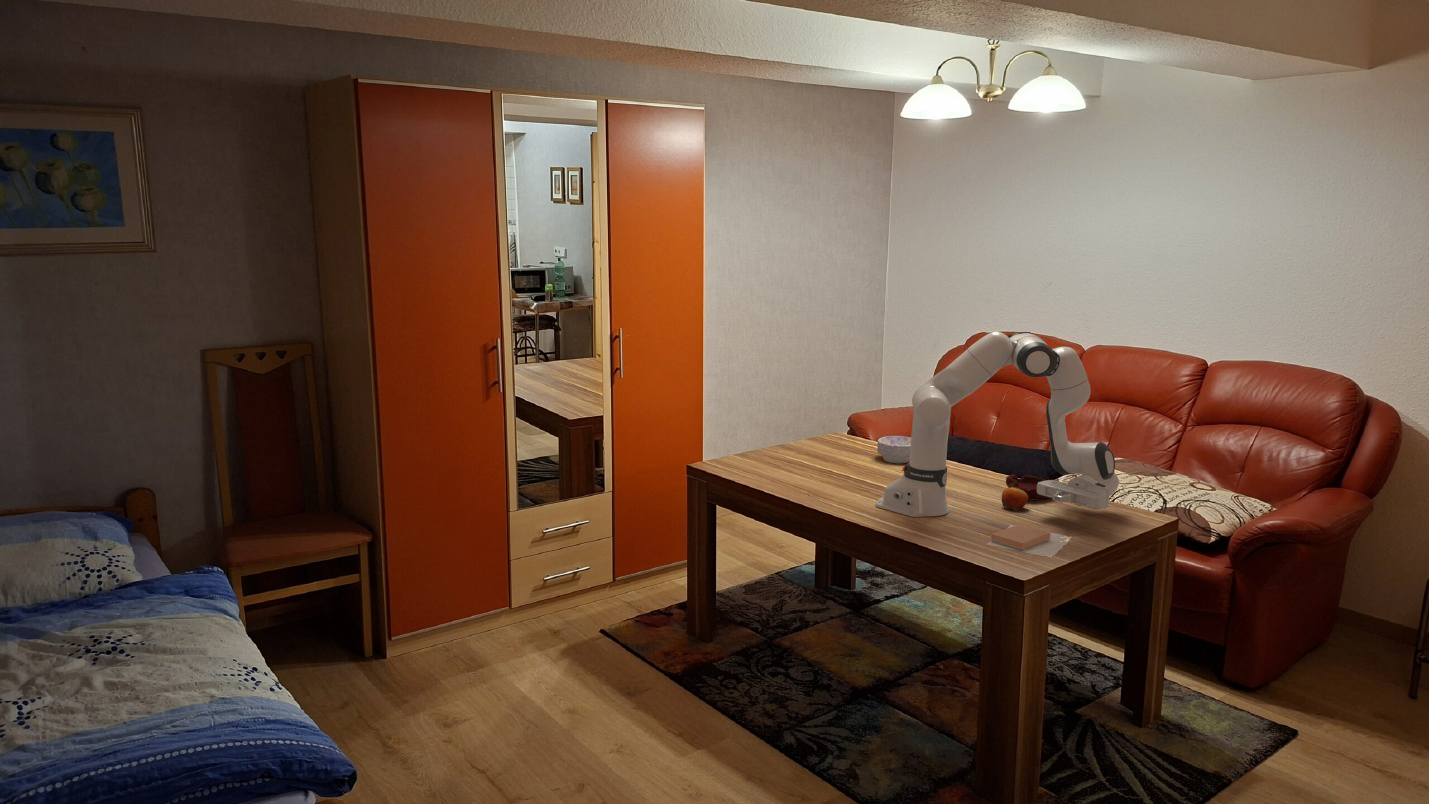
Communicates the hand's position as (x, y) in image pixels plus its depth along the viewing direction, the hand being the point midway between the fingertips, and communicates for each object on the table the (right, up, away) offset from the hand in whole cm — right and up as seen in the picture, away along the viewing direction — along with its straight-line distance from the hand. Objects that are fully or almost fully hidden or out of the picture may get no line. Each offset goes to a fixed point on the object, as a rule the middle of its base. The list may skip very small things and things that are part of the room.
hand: (1057, 498), depth 280 cm
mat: (-11, -11, -9) cm, 18 cm away
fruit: (-6, -6, +21) cm, 23 cm away
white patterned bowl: (-32, +6, +79) cm, 85 cm away
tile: (-9, -9, -6) cm, 14 cm away
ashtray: (+4, -3, +35) cm, 36 cm away
